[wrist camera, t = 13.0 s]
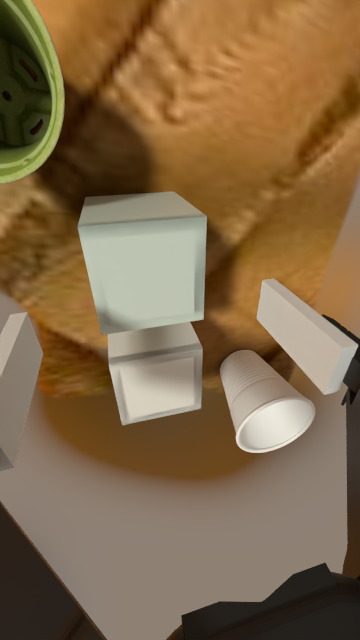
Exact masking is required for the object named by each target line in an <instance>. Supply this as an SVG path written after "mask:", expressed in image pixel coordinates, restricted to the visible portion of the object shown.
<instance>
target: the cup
mask: <svg viewBox="0 0 360 640" xmlns="http://www.w3.org/2000/svg"><path fill="white" fill-rule="evenodd" d="M220 375H221V379H222V383H223V386H224V390H225V393H226V397H227V401H228V405H229V408H230V412H231V416H232V420H233V424H234V428H235V431H236V442H237V444H238V446H239V447H240V448H241V449H243V450H245V451H247V452H252V453H261V452H268V451H272V450H275V449H277V448H280V447H282V446H285V445H287V444H288V443H290V442H292V441H293V440H295V439H296V438H298V437H299V436H300V435H301V434H302V433H304V432H305V431H306V429H307V428H308V427H309V426H310V424H311V423H312V421H313V419H314V416H315V407H314V405H313V403H312V402H311V401H310V400H309V399H307V398H305V397H303V396H302V395H301V394H300V393H299V392H298V391H297V390H295V388H293V387H292V386H291V385H290V384H289V383H288V382H287V381H286V380H285V379H283V378H282V377H281V376H280V375H279V374H278V373H277V372H276V371H275V370H274V369H273V368H272V367H271V366H269V365H268V364H267V363H266V362H265V361H264V360H263V359H262V358H261V357H260V356H259V355H258V354H257V353H255V352H254V351H251V350H239V351H236V352H234V353H232V354H230V355H229V356H228V357H227V358H226V359H225V360H224V361H223V362H222V364H221V367H220Z"/></svg>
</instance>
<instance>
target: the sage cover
mask: <svg viewBox="0 0 360 640" xmlns="http://www.w3.org/2000/svg"><path fill="white" fill-rule="evenodd" d="M206 229H207V216H206V215H204V214H203V213H202V212H200V211H199V210H198V209H196V208H195V207H194V206H192V205H191V204H190V203H188V202H187V201H186V200H184V199H183V198H182V197H180V196H179V195H178V194H176V193H175V192H158V193H142V194H126V195H110V196H94V197H85V201H84V205H83V209H82V212H81V216H80V220H79V223H78V231H79V235H80V240H81V244H82V249H83V253H84V258H85V262H86V267H87V271H88V276H89V280H90V284H91V289H92V293H93V298H94V302H95V307H96V311H97V316H98V320H99V325H100V329H101V334H102V335H106V334H112V333H119V332H125V331H132V330H138V329H145V328H152V327H158V326H165V325H171V324H178V323H185V322H191V321H198V320H204V290H205V260H206Z"/></svg>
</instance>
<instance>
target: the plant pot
mask: <svg viewBox="0 0 360 640" xmlns="http://www.w3.org/2000/svg"><path fill="white" fill-rule="evenodd" d="M19 60H24V61H25V63H26V64H27V65H28V67H30V68H31V69H32V70H33V71H34V72H35V74H36V76H37V78H38V80H37V81H34V79H33V78H32V77H31V75H30V74H29V73H28V71H27V70H26V69H25V68H24V67H23V66H22V65H21V64H20V63H19ZM5 91H6V92H8V93H9V94H10V96H11V100H10V101H7V100H5V99H4V97H3V95H2V94H3V92H5ZM64 108H65V95H64V84H63V77H62V71H61V67H60V63H59V59H58V56H57V52H56V49H55V46H54V44H53V41H52V39H51V36H50V34H49V32H48V29H47V27H46V25H45V23H44V21H43V19H42V17H41V15H40V13H39V12H38V10H37V8H36V7H35V5H34V3H33V2H32V0H0V184H4V183H9V182H13V181H16V180H19V179H21V178H24V177H26V176H27V175H29V174H31V173H32V172H34V171H35V170H37V169H38V168H39V167H40V166H41V165H42V164H43V163H44V162H45V161H46V160H47V159H48V157H49V156H50V154H51V153H52V151H53V150H54V148H55V146H56V143H57V141H58V139H59V136H60V133H61V129H62V124H63V118H64ZM41 119H42V120H43V125H42V127H41V129H40V130H39V131H38V132H37V133H36V134H34V135H32V134H31V133H30V130H31V129H33V128H34V127H35V126H36V125H37V124H38V122H40V120H41Z"/></svg>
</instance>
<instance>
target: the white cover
mask: <svg viewBox="0 0 360 640" xmlns="http://www.w3.org/2000/svg"><path fill="white" fill-rule="evenodd" d="M108 358H109V368H110V373H111V377H112V381H113V386H114V390H115V395H116V399H117V404H118V408H119V413H120V417H121V422H122V425H125V424H130V423H135V422H139V421H144V420H149V419H154V418H158V417H163V416H168V415H173V414H177V413H182V412H187V411H191V410H196V409H200V408H201V390H202V360H203V348H202V346H201V343H200V341H199V339H198V337H197V335H196V333H195V331H194V329H193V327H192V325H191V323H190V322H185V323H178V324H171V325H165V326H158V327H152V328H145V329H138V330H132V331H125V332H119V333H112V334H108Z"/></svg>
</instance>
